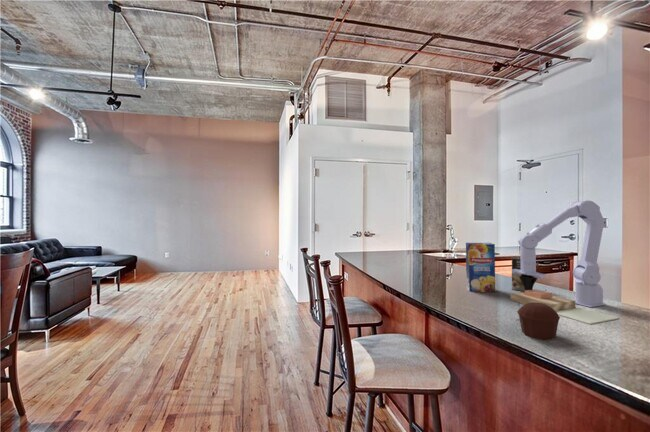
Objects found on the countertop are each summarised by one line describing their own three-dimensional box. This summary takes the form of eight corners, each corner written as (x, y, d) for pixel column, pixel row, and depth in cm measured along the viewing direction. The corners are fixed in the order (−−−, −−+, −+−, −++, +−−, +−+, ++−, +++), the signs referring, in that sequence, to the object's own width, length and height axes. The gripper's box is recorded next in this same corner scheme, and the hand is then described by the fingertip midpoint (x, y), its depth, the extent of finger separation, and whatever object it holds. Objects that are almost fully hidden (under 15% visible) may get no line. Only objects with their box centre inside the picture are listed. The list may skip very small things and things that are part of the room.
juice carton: (469, 291, 154) (468, 244, 154) (466, 287, 161) (465, 242, 161) (495, 292, 151) (494, 244, 151) (491, 288, 158) (490, 242, 158)
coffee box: (511, 289, 156) (511, 258, 156) (511, 287, 161) (511, 256, 161) (533, 292, 151) (532, 259, 151) (532, 289, 156) (532, 257, 156)
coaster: (536, 293, 137) (536, 289, 137) (552, 297, 130) (552, 292, 130) (524, 295, 135) (524, 290, 135) (540, 299, 128) (540, 294, 128)
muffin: (534, 326, 106) (534, 297, 106) (569, 338, 96) (568, 306, 96) (509, 331, 102) (508, 301, 102) (542, 344, 92) (541, 311, 92)
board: (533, 296, 142) (533, 290, 142) (575, 308, 125) (575, 300, 125) (510, 300, 138) (510, 293, 138) (551, 312, 121) (551, 304, 121)
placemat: (579, 308, 124) (579, 307, 124) (619, 318, 112) (619, 317, 112) (552, 313, 119) (551, 312, 119) (589, 324, 107) (589, 323, 107)
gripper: (507, 260, 142) (507, 289, 142) (537, 265, 129) (537, 297, 129) (518, 259, 145) (518, 287, 145) (549, 263, 131) (549, 295, 131)
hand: (528, 292), depth 137 cm, fingers closed
